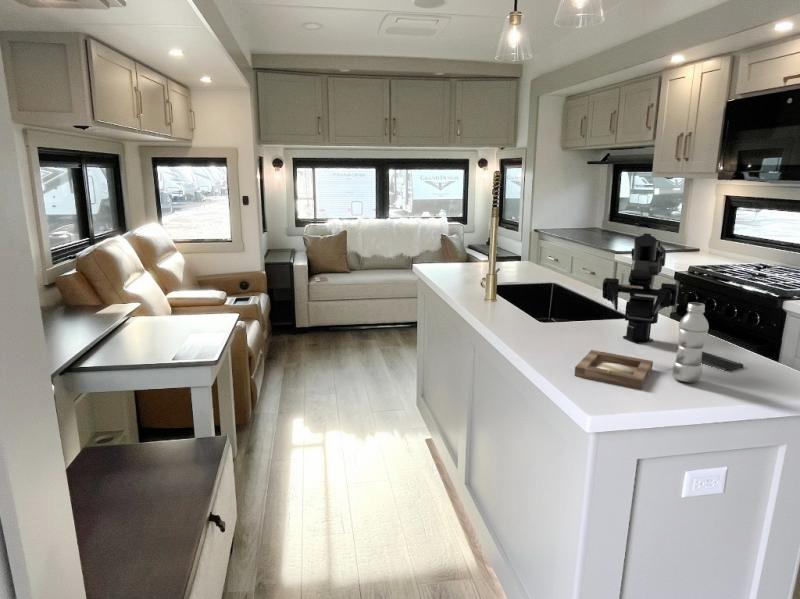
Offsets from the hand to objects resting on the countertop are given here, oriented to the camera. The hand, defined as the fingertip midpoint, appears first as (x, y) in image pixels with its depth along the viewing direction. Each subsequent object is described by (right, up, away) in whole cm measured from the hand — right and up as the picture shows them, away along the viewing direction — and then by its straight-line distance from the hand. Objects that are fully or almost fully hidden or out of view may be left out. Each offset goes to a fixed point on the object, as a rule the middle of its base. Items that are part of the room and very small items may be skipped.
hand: (634, 311), depth 144 cm
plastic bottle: (+10, -18, -7) cm, 21 cm away
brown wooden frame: (-6, -16, -2) cm, 17 cm away
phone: (+24, -15, +7) cm, 29 cm away
